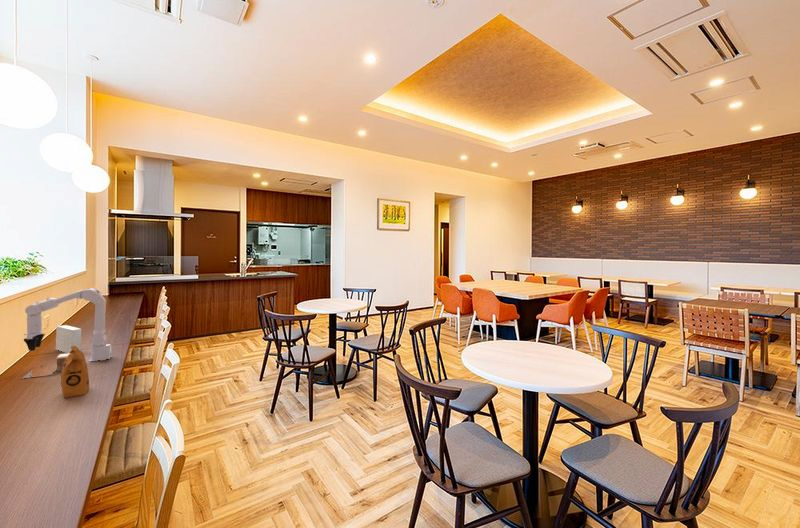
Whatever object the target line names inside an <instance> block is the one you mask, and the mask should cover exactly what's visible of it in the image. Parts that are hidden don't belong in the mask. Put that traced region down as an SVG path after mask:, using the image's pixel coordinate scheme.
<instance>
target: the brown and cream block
mask: <svg viewBox="0 0 800 528" xmlns="http://www.w3.org/2000/svg"><path fill="white" fill-rule="evenodd" d="M69 354H70V353H60V354H58V356H56V364H57V371H56V372H62V371H61V370H62V369H63V364H64V361H65V360H66V358H67V357H68V356H69Z"/></svg>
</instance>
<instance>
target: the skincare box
mask: <svg viewBox="0 0 800 528" xmlns="http://www.w3.org/2000/svg"><path fill="white" fill-rule="evenodd" d="M73 345H76V346H77V347H78V349H79V350H80V351H81V352H82V349H81V348H82V328H79V327H76V326H71V325H67V324H65V325H56V334H55V350H56V351H58V350H59V352H61V351H62V353H64V354H68V353H70V352H71V351H72V349H71V346H73Z"/></svg>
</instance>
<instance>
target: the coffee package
mask: <svg viewBox="0 0 800 528" xmlns="http://www.w3.org/2000/svg"><path fill="white" fill-rule="evenodd" d="M71 349H72V351H71V352H70V354H69V356H68V357H67V358H66V360H65V361H64V364H63V369H62V371H61V374H60V375H61V376H60V385H61V392H62V396H63V397H64V398H66V399H67V398H73V397H72V396H74V397H79V396H83V394H84V395H86V394H87V392H88V390H89V388H90V378H89V367H88V363H87V361H86V357H85V355H84V353H83V352H82V350H81V351H80V350H79V349H78V347H77V346H76V345H73V346H71ZM78 395H79V396H78Z"/></svg>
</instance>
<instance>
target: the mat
mask: <svg viewBox="0 0 800 528" xmlns="http://www.w3.org/2000/svg"><path fill="white" fill-rule="evenodd" d="M56 370H57V367H56V368H55V372H57V371H56ZM30 371H31V372H32V370H30ZM30 371H28V373H26V374H25V375H24V376H23V377H22V378H21V380H25V379H24V378H27V379H31V378H30V375H31V376H32V375H33V374H32V373H31V372H30ZM47 375H51V376H52V375H54V373H52V374H47ZM32 377H33V376H32ZM34 377H35V376H34Z"/></svg>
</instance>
